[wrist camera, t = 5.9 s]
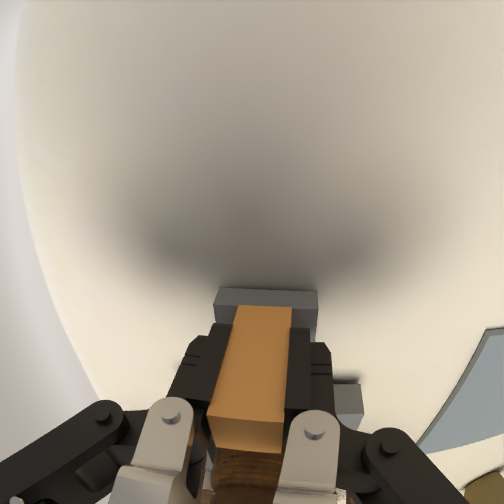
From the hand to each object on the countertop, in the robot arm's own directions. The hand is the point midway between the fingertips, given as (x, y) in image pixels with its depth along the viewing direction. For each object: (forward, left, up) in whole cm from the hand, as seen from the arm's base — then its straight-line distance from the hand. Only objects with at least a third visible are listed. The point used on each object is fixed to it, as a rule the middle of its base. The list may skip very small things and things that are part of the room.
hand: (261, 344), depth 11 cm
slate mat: (+9, +19, -3) cm, 21 cm away
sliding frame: (+7, 0, -2) cm, 7 cm away
